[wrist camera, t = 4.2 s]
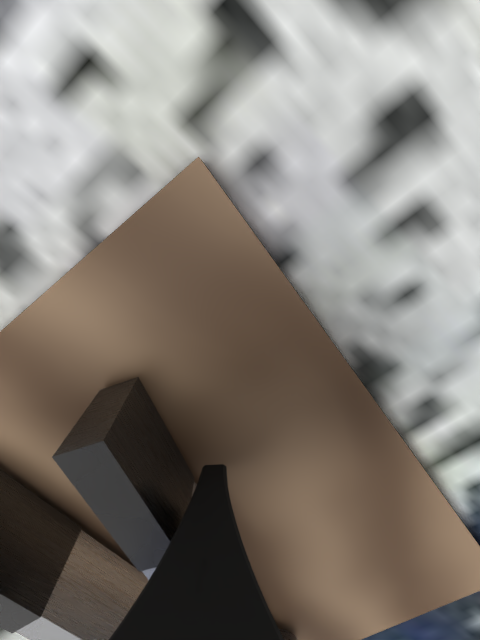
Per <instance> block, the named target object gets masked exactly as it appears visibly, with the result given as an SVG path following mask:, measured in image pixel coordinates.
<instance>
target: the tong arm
mask: <svg viewBox="0 0 480 640" xmlns="http://www.w3.org/2000/svg"><path fill="white" fill-rule="evenodd" d="M52 458H53V459H54V461H55V462H56V463H57V465H58V466H59V467H60V468H61V470H62V471H63V472H64V474H65V475H66V476H67V478H68V479H69V480H70V482H71V483H72V484H73V486H74V487H75V488H76V490H77V491H78V492H79V494H80V495H81V496H82V497H83V499H84V500H85V501H86V503H87V504H88V505H89V507H90V508H91V509H92V511H93V512H94V513H95V515H96V516H97V517H98V519H99V520H100V521H101V523H102V524H103V525H104V527H105V528H106V529H107V530H108V532H109V533H110V534H111V536H112V537H113V538H114V540H115V541H116V542H117V544H118V545H119V546H120V548H121V549H122V550H123V552H124V553H125V554H126V556H127V557H128V558H129V559H130V561H131V562H132V563H133V565H134V566H135V567H136V569H137V570H138V571H139V572H140V571H142V572H143V573H144V575H145V576H146V577H147V579H148V580H149V579H150V577H151V576H152V574H153V572H154V571H155V569H156V567H157V566H158V564H159V562H160V560H161V559H162V557H163V555H164V553H165V551H166V550H167V548H168V546H169V544H170V542H171V540H172V538H173V536H174V534H175V532H176V530H177V528H178V526H179V524H180V522H181V520H182V518H183V516H184V514H185V512H186V509H187V507H188V505H189V503H190V500H191V498H192V496H193V493H194V491H195V488H196V486H197V484H196V483H195V481H194V478H195V477H194V475H193V474H192V472H191V470H190V468H189V466H188V465H187V463H186V461H185V459H184V457H183V456H182V454H181V452H180V450H179V449H178V447H177V445H176V443H175V441H174V440H173V438H172V436H171V434H170V432H169V431H168V429H167V427H166V425H165V423H164V422H163V420H162V418H161V416H160V414H159V413H158V411H157V409H156V407H155V406H154V404H153V402H152V400H151V398H150V397H149V395H148V393H147V391H146V389H145V388H144V386H143V384H142V382H141V380H140V379H139V377H136V378H133V379H130V380H127V381H124V382H121V383H118V384H115V385H112V386H109V387H106V388H103V389H101V390H100V391H99V392H98V393H97V395H96V396H95V398H94V399H93V400H92V402H91V403H90V405H89V406H88V407H87V409H86V410H85V412H84V413H83V414H82V416H81V417H80V419H79V420H78V421H77V423H76V424H75V426H74V427H73V428H72V430H71V431H70V433H69V434H68V435H67V437H66V438H65V440H64V441H63V442H62V444H61V445H60V447H59V448H58V449H57V451H56V452H55V454H54V455H53V456H52ZM279 631H280V633H281V635H282V637H283V639H284V640H297V638H296V636H295V635H294V634H293V633H291V632H289V631H287V630H283V629H279Z"/></svg>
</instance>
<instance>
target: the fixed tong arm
mask: <svg viewBox="0 0 480 640" xmlns="http://www.w3.org/2000/svg"><path fill="white" fill-rule="evenodd" d="M148 581H149V580H148V579H147V577H146V576H145V575H144V574H143V573H142V572H139V571H138V570H137V569H136V568H135V567H133V566H132V565H130V564H129V563H128V562H126V561H125V560H123V559H122V558H121V557H119V556H118V555H116V554H115V553H114V552H112V551H111V550H109V549H108V548H107V547H105V546H104V545H102V544H101V543H100V542H98V541H97V540H95V539H94V538H93V537H91V536H90V535H88V534H87V533H85V532H84V531H83V530H82V527H81V526H79V525H78V524H77V523H75V522H74V521H72V520H71V519H70V518H68V517H67V516H65V515H64V514H63V513H61V512H60V511H58V510H57V509H56V508H54V507H53V506H51V505H50V504H49V503H47V502H46V501H44V500H43V499H42V498H40V497H39V496H37V495H36V494H35V493H33V492H32V491H31V490H29V489H28V488H26V487H25V486H24V485H22V484H21V483H19V482H18V481H17V480H15V479H14V478H12V477H11V476H10V475H8V474H7V473H5V472H4V471H3V470H1V469H0V627H1V628H3V629H5V630H7V631H9V632H11V633H14V632H17V633H19V634H21V635H22V636H24V637H26V638H28V639H30V640H109V639H110V637H111V636H112V634H113V633H114V632H115V630H116V629H117V628H118V626H119V625H120V623H121V622H122V620H123V619H124V617H125V616H126V615H127V613H128V612H129V610H130V609H131V607H132V606H133V604H134V602H135V601H136V599H137V598H138V596H139V595H140V593H141V592H142V590H143V589H144V587H145V585H146V584H147V582H148Z"/></svg>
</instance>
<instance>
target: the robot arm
mask: <svg viewBox="0 0 480 640" xmlns="http://www.w3.org/2000/svg"><path fill="white" fill-rule="evenodd" d="M109 640H284V639H283V637H282V635H281V633H280V631H279V628H278V626H277V624H276V622H275V620H274V618H273V616H272V614H271V612H270V610H269V607H268V605H267V603H266V601H265V598H264V596H263V594H262V591H261V589H260V587H259V585H258V582H257V580H256V577H255V575H254V572H253V570H252V567H251V564H250V562H249V559H248V556H247V554H246V551H245V548H244V545H243V542H242V539H241V536H240V533H239V530H238V527H237V523H236V520H235V516H234V512H233V509H232V505H231V500H230V496H229V491H228V481H227V467H226V466H225V465H224V464H217V465H205V466H204V467H202V470H201V474H200V477H199V480H198V483H197V486H196V488H195V491H194V493H193V496H192V498H191V500H190V503H189V505H188V507H187V509H186V512H185V514H184V516H183V518H182V520H181V522H180V524H179V526H178V528H177V530H176V532H175V534H174V536H173V538H172V540H171V542H170V544H169V546H168V548H167V550H166V551H165V553H164V555H163V557H162V559H161V560H160V562H159V564H158V566H157V567H156V569H155V571H154V572H153V574H152V576H151V577H150V579H149V581H148V582H147V584H146V585H145V587H144V589H143V590H142V592H141V593H140V595H139V596H138V598H137V599H136V601H135V602H134V604H133V606H132V607H131V609H130V610H129V612H128V613H127V615H126V616H125V617H124V619H123V620H122V622H121V623H120V625H119V626H118V628H117V629H116V630H115V632H114V633H113V634H112V636H111V637H110V639H109Z"/></svg>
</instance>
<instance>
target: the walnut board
mask: <svg viewBox="0 0 480 640" xmlns="http://www.w3.org/2000/svg"><path fill="white" fill-rule="evenodd" d="M136 377H139V379H140V380H141V382H142V384H143V386H144V388H145V389H146V391H147V393H148V395H149V397H150V398H151V400H152V402H153V404H154V406H155V407H156V409H157V411H158V413H159V414H160V416H161V418H162V420H163V422H164V423H165V425H166V427H167V429H168V431H169V432H170V434H171V436H172V438H173V440H174V441H175V443H176V445H177V447H178V449H179V450H180V452H181V454H182V456H183V457H184V459H185V461H186V463H187V465H188V466H189V468H190V470H191V472H192V474H193V475H194V477H195V478H194V481H195V483H196V484H197V483H198V480H199V477H200V474H201V470H202V467H204V466H205V465H217V464H224V465H225V466H226V467H227V481H228V491H229V496H230V500H231V505H232V509H233V512H234V516H235V520H236V523H237V527H238V530H239V533H240V536H241V539H242V542H243V545H244V548H245V551H246V554H247V556H248V559H249V562H250V564H251V567H252V570H253V572H254V575H255V577H256V580H257V582H258V585H259V587H260V589H261V591H262V594H263V596H264V598H265V601H266V603H267V605H268V607H269V610H270V612H271V614H272V616H273V618H274V620H275V622H276V624H277V626H278V628H279V629H283V630H287V631H289V632H291V633H293V634H294V635H295V636H296V638H297V640H361V639H363V638H366V637H368V636H371V635H373V634H376V633H378V632H380V631H383V630H385V629H388V628H390V627H393V626H395V625H397V624H400V623H402V622H405V621H407V620H410V619H412V618H414V617H417V616H419V615H422V614H424V613H427V612H429V611H431V610H434V609H436V608H439V607H441V606H444V605H446V604H448V603H451V602H453V601H456V600H458V599H461V598H463V597H465V596H468V595H470V594H473V593H475V592H478V591H480V546H479V544H478V543H477V542H476V540H475V539H474V537H473V536H472V535H471V533H470V532H469V531H468V529H467V528H466V526H465V525H464V524H463V522H462V521H461V519H460V518H459V517H458V515H457V514H456V512H455V511H454V510H453V508H452V507H451V506H450V504H449V503H448V501H447V500H446V499H445V497H444V496H443V494H442V493H441V492H440V490H439V489H438V487H437V486H436V485H435V483H434V482H433V481H432V479H431V478H430V476H429V475H428V474H427V472H426V471H425V469H424V468H423V467H422V465H421V464H420V463H419V461H418V460H417V458H416V457H415V456H414V454H413V453H412V451H411V450H410V449H409V447H408V446H407V444H406V443H405V442H404V440H403V439H402V438H401V436H400V435H399V433H398V432H397V431H396V429H395V428H394V426H393V425H392V424H391V422H390V421H389V419H388V418H387V417H386V415H385V414H384V413H383V411H382V410H381V408H380V407H379V406H378V404H377V403H376V401H375V400H374V399H373V397H372V396H371V395H370V393H369V392H368V390H367V389H366V388H365V386H364V385H363V383H362V382H361V381H360V379H359V378H358V376H357V375H356V374H355V372H354V371H353V370H352V368H351V367H350V365H349V364H348V363H347V361H346V360H345V358H344V357H343V356H342V354H341V353H340V351H339V350H338V349H337V347H336V346H335V345H334V343H333V342H332V340H331V339H330V338H329V336H328V335H327V333H326V332H325V331H324V329H323V328H322V327H321V325H320V324H319V322H318V321H317V320H316V318H315V317H314V315H313V314H312V313H311V311H310V310H309V308H308V307H307V306H306V304H305V303H304V302H303V300H302V299H301V297H300V296H299V295H298V293H297V292H296V290H295V289H294V288H293V286H292V285H291V284H290V282H289V281H288V279H287V278H286V277H285V275H284V274H283V272H282V271H281V270H280V268H279V267H278V265H277V264H276V263H275V261H274V260H273V259H272V257H271V256H270V254H269V253H268V252H267V250H266V249H265V247H264V246H263V245H262V243H261V242H260V240H259V239H258V238H257V236H256V235H255V234H254V232H253V231H252V229H251V228H250V227H249V225H248V224H247V222H246V221H245V220H244V218H243V217H242V216H241V214H240V213H239V211H238V210H237V209H236V207H235V206H234V204H233V203H232V202H231V200H230V199H229V197H228V196H227V195H226V193H225V192H224V191H223V189H222V188H221V186H220V185H219V184H218V182H217V181H216V179H215V178H214V177H213V175H212V174H211V172H210V171H209V170H208V168H207V167H206V166H205V164H204V163H203V162H202V160H201V159H200V158H199V157H198V158H197V159H195V160H194V161H193V162H192V163H191V164H190V165H189V166H187V167H186V168H185V169H184V170H183V171H182V172H181V173H180V174H178V175H177V176H176V177H175V178H174V179H173V180H172V181H170V182H169V183H168V184H167V185H166V186H165V187H164V188H163V189H161V190H160V191H159V192H158V193H157V194H156V195H155V196H154V197H152V198H151V199H150V200H149V201H148V202H147V203H146V204H144V205H143V206H142V207H141V208H140V209H139V210H138V211H137V212H135V213H134V214H133V215H132V216H131V217H130V218H129V219H127V220H126V221H125V222H124V223H123V224H122V225H121V226H120V227H118V228H117V229H116V230H115V231H114V232H113V233H112V234H110V235H109V236H108V237H107V238H106V239H105V240H104V241H103V242H101V243H100V244H99V245H98V246H97V247H96V248H95V249H93V250H92V251H91V252H90V253H89V254H88V255H87V256H86V257H84V258H83V259H82V260H81V261H80V262H79V263H78V264H77V265H75V266H74V267H73V268H72V269H71V270H70V271H69V272H67V273H66V274H65V275H64V276H63V277H62V278H61V279H60V280H58V281H57V282H56V283H55V284H54V285H53V286H52V287H50V288H49V289H48V290H47V291H46V292H45V293H44V294H43V295H41V296H40V297H39V298H38V299H37V300H36V301H35V302H33V303H32V304H31V305H30V306H29V307H28V308H27V309H26V310H24V311H23V312H22V313H21V314H20V315H19V316H18V317H16V318H15V319H14V320H13V321H12V322H11V323H10V324H9V325H7V326H6V327H5V328H4V329H3V330H2V331H1V332H0V469H1V470H3V471H4V472H5V473H7V474H8V475H10V476H11V477H12V478H14V479H15V480H17V481H18V482H19V483H21V484H22V485H24V486H25V487H26V488H28V489H29V490H31V491H32V492H33V493H35V494H36V495H37V496H39V497H40V498H42V499H43V500H44V501H46V502H47V503H49V504H50V505H51V506H53V507H54V508H56V509H57V510H58V511H60V512H61V513H63V514H64V515H65V516H67V517H68V518H70V519H71V520H72V521H74V522H75V523H77V524H78V525H79V526H81V527H82V530H83V531H84V532H85V533H87V534H88V535H90V536H91V537H93V538H94V539H95V540H97V541H98V542H100V543H101V544H102V545H104V546H105V547H107V548H108V549H109V550H111V551H112V552H114V553H115V554H116V555H118V556H119V557H121V558H122V559H123V560H125V561H126V562H128V563H129V564H130V565H132V566H133V567H135V566H134V565H133V563H132V562H131V561H130V559H129V558H128V557H127V556H126V554H125V553H124V552H123V550H122V549H121V548H120V546H119V545H118V544H117V542H116V541H115V540H114V538H113V537H112V536H111V534H110V533H109V532H108V530H107V529H106V528H105V527H104V525H103V524H102V523H101V521H100V520H99V519H98V517H97V516H96V515H95V513H94V512H93V511H92V509H91V508H90V507H89V505H88V504H87V503H86V501H85V500H84V499H83V497H82V496H81V495H80V494H79V492H78V491H77V490H76V488H75V487H74V486H73V484H72V483H71V482H70V480H69V479H68V478H67V476H66V475H65V474H64V472H63V471H62V470H61V468H60V467H59V466H58V465H57V463H56V462H55V461H54V459H53V458H52V456H53V455H54V454H55V452H56V451H57V449H58V448H59V447H60V445H61V444H62V442H63V441H64V440H65V438H66V437H67V435H68V434H69V433H70V431H71V430H72V428H73V427H74V426H75V424H76V423H77V421H78V420H79V419H80V417H81V416H82V414H83V413H84V412H85V410H86V409H87V407H88V406H89V405H90V403H91V402H92V400H93V399H94V398H95V396H96V395H97V393H98V392H99V391H100V390H101V389H103V388H106V387H109V386H112V385H115V384H118V383H121V382H124V381H127V380H130V379H133V378H136ZM135 568H136V567H135ZM140 572H142V571H140ZM142 573H143V572H142ZM143 574H144V573H143Z"/></svg>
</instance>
